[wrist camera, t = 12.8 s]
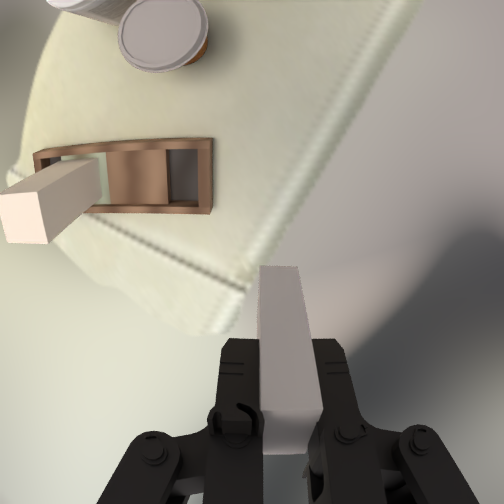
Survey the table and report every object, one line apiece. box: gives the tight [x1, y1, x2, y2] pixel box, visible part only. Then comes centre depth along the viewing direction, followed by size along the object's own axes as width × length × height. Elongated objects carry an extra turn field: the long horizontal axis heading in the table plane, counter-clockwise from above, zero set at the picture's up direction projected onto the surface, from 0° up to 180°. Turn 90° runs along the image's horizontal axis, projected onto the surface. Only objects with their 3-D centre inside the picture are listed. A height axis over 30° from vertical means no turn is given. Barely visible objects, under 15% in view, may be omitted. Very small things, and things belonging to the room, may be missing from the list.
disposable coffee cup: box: [118, 0, 208, 73], centre depth 29 cm, size 10×10×12 cm
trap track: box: [33, 138, 213, 215], centre depth 41 cm, size 28×10×3 cm, turn 88°
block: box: [0, 157, 102, 244], centre depth 34 cm, size 7×6×15 cm
